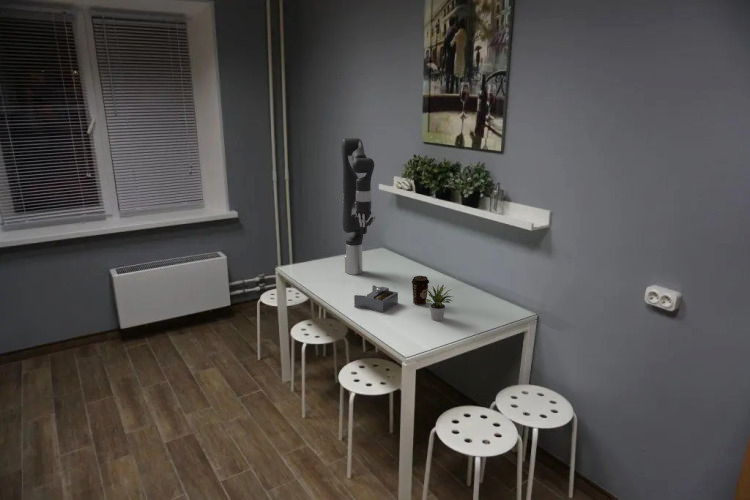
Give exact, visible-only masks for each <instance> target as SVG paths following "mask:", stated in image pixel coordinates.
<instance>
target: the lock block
mask: <svg viewBox="0 0 750 500" xmlns="http://www.w3.org/2000/svg"><path fill="white" fill-rule="evenodd" d="M388 296H389V295H385V294H382V295H380V296H378V297H377V298H376V299H380V300H383V299H385V298H387V297H388Z"/></svg>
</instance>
